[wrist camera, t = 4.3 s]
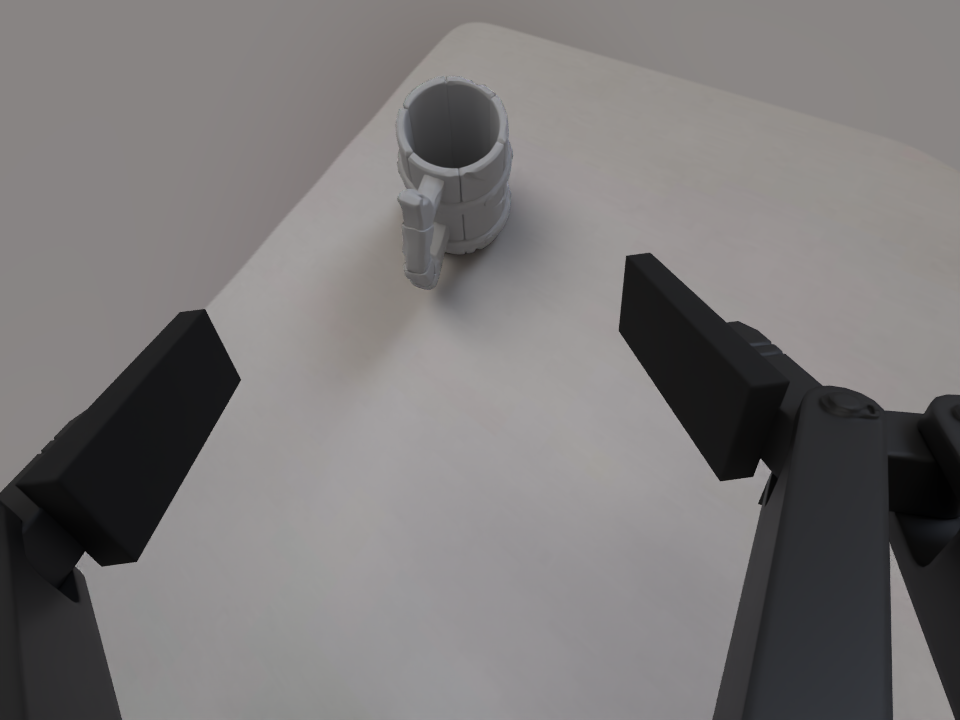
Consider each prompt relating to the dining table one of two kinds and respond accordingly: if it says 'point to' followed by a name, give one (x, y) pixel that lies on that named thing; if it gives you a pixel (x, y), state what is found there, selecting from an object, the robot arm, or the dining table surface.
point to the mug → (451, 173)
